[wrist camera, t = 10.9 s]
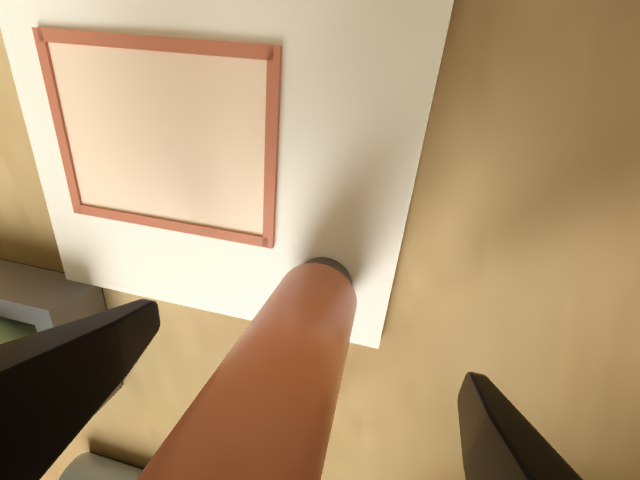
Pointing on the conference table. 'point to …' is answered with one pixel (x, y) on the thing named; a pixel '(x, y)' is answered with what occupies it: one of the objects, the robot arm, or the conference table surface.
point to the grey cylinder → (99, 469)
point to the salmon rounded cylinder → (270, 388)
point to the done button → (14, 329)
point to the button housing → (46, 298)
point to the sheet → (227, 140)
